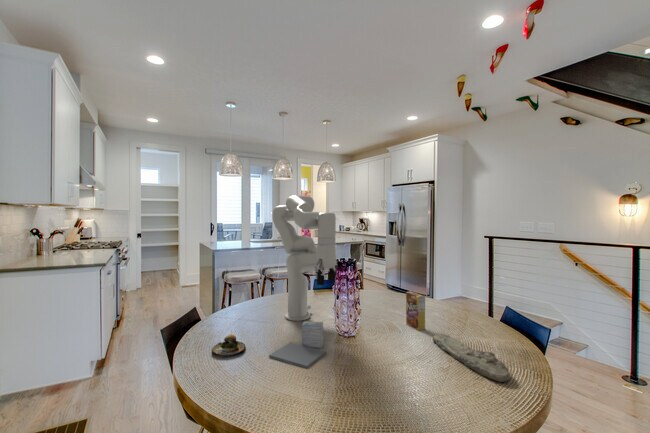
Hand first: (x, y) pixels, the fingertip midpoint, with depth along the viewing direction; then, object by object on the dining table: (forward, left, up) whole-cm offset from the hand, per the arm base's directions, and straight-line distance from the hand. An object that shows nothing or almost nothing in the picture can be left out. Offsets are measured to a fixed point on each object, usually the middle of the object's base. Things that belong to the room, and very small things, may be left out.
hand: (326, 282), depth 131 cm
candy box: (-30, +30, -23) cm, 48 cm away
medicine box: (+11, 0, -23) cm, 25 cm away
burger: (+31, -24, -23) cm, 45 cm away
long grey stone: (-7, +53, -23) cm, 59 cm away
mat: (+21, 0, -22) cm, 31 cm away
